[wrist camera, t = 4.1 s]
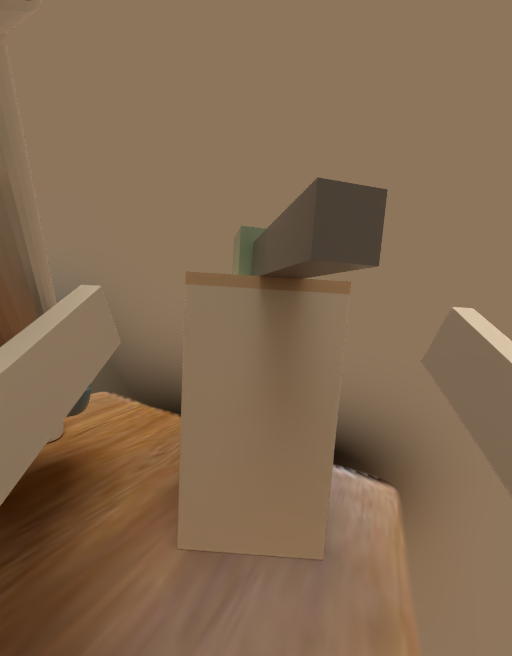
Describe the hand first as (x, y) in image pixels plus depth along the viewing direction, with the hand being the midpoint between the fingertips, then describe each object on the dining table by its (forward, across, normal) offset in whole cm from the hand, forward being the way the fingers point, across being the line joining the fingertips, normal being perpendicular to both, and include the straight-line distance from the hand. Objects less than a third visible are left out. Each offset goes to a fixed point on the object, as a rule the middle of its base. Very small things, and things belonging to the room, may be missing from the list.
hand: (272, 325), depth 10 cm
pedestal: (+6, 0, -34) cm, 35 cm away
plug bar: (+14, +1, -4) cm, 15 cm away
